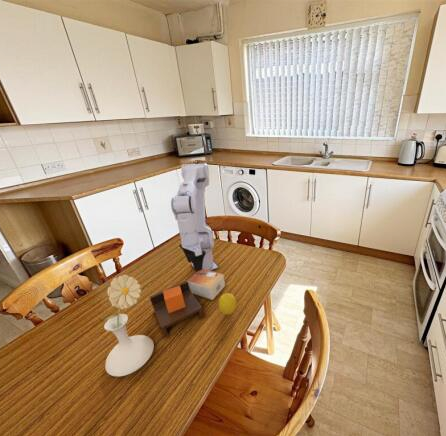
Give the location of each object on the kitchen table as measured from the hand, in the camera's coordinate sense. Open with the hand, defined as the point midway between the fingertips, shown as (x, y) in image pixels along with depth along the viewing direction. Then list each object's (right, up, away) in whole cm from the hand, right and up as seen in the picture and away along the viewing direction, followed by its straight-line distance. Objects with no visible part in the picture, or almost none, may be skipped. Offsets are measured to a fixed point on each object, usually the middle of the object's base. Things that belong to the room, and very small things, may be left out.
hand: (195, 265), depth 84 cm
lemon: (+13, -14, -7) cm, 21 cm away
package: (-3, -11, -8) cm, 14 cm away
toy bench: (-3, -15, -7) cm, 16 cm away
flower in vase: (-10, -21, -19) cm, 30 cm away
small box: (+8, -8, +1) cm, 11 cm away
